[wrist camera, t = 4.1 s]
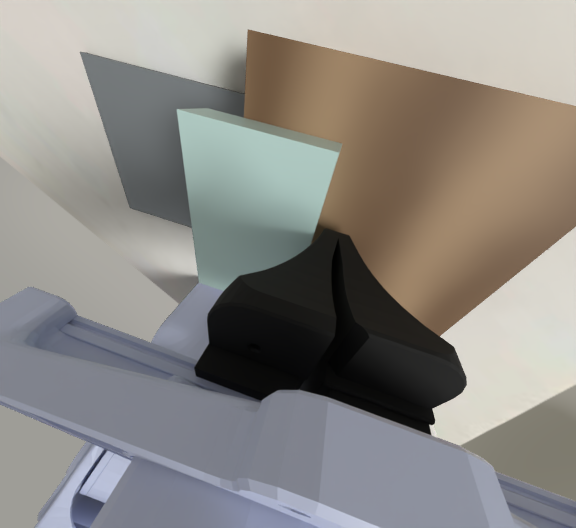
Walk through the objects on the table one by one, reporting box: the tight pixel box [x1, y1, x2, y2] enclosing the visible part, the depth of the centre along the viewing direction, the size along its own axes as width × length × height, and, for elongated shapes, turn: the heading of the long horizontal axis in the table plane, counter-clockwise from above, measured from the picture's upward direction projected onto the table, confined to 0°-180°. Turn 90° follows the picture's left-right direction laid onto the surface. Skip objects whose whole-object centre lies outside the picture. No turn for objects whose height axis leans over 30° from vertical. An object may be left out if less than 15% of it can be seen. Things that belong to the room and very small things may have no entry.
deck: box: [244, 30, 576, 336], centre depth 13 cm, size 14×14×4 cm
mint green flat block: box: [177, 108, 342, 291], centre depth 11 cm, size 6×9×2 cm, turn 169°
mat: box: [80, 52, 245, 228], centre depth 15 cm, size 12×10×1 cm
